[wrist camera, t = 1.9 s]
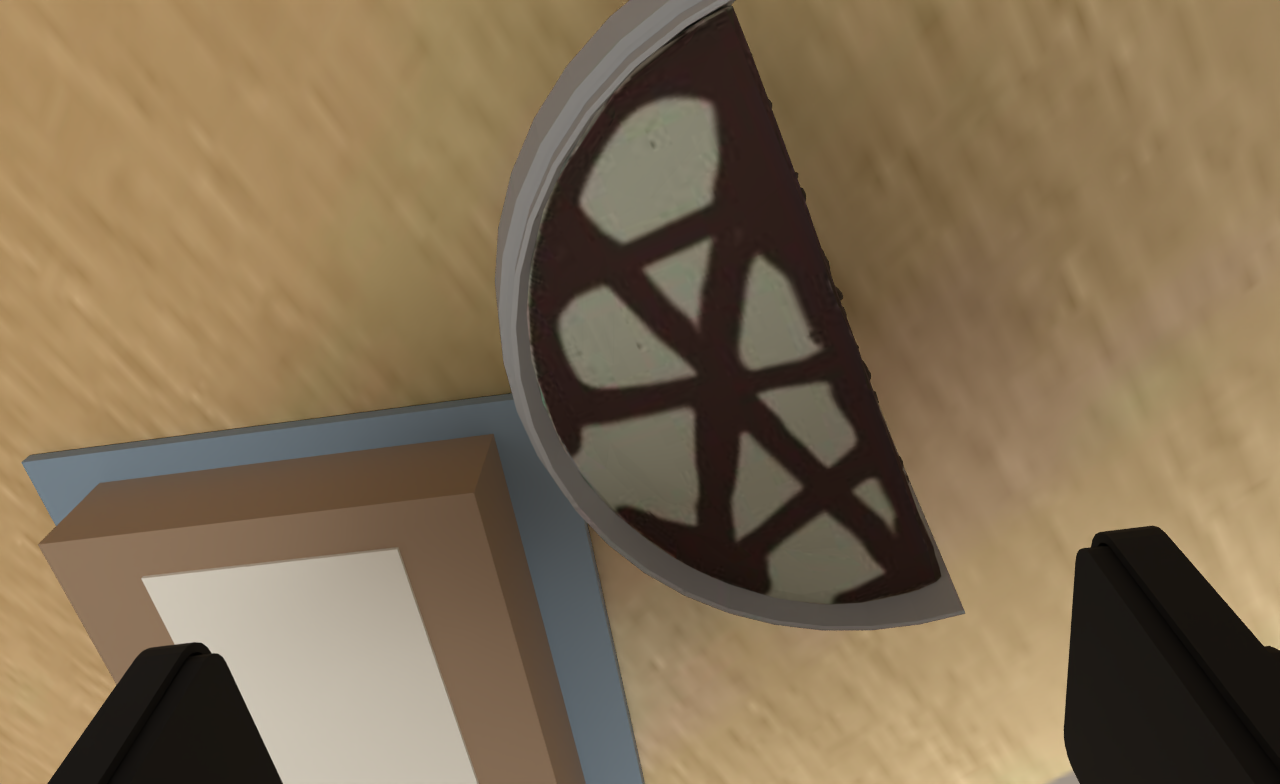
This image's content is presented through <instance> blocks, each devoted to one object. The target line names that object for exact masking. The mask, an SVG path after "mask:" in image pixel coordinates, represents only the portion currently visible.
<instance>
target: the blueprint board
mask: <svg viewBox="0 0 1280 784" xmlns="http://www.w3.org/2000/svg"><path fill="white" fill-rule="evenodd" d="M21 463H22V464H23V466H24V468H25V470H26V472H27V474H28V476H29V477H30V479H31V481H32V483H33V485H34V487H35V488H36V490H37V492H38V494H39V496H40V498H41V499H42V501H43V503H44V505H45V507H46V509H47V510H48V512H49V514H50V516H51V518H52V520H53V521H54V523H55V525H56V527H55V528H54V529H53V530H52V531H51V532H50V533H49V534H48V535H47V536H46V537H45V538H44V539H43V540H42V541H41V542H40V543H39V544H38V546H39V547H40V549H41V551H42V553H43V555H44V556H45V558H46V560H47V562H48V563H49V565H50V567H51V569H52V571H53V572H54V574H55V576H56V578H57V579H58V581H59V583H60V585H61V587H62V588H63V590H64V592H65V594H66V595H67V597H68V599H69V601H70V603H71V604H72V606H73V608H74V610H75V612H76V613H77V615H78V617H79V619H80V620H81V622H82V624H83V626H84V628H85V629H86V631H87V633H88V635H89V636H90V638H91V640H92V642H93V644H94V645H95V647H96V649H97V651H98V652H99V654H100V656H101V658H102V660H103V661H104V663H105V665H106V667H107V669H108V670H109V672H110V674H111V676H112V677H113V679H114V681H115V683H116V685H117V684H118V682H119V681H120V680H121V678H122V677H123V675H124V674H125V673H126V671H127V670H128V668H129V667H130V665H131V664H132V663H133V661H134V660H135V658H136V657H137V656H138V655H139V654H140V653H141V652H142V651H143V650H146V649H148V648H151V647H159V646H167V645H175V644H184V643H192V642H199V643H203V644H204V645H205V646H207V647H208V648H209V650H210V651H211V653H217V654H219V655H221V656H222V657H223V658H224V660H225V661H226V663H227V665H228V667H229V669H230V671H231V674H232V676H233V678H234V680H235V682H236V684H237V686H238V688H239V691H240V693H241V695H242V697H243V699H244V701H245V703H246V706H247V708H248V710H249V712H250V714H251V716H252V718H253V721H254V723H255V725H256V727H257V729H258V731H259V733H260V735H261V738H262V740H263V742H264V744H265V746H266V748H267V750H268V753H269V755H270V757H271V759H272V761H273V763H274V765H275V767H276V770H277V772H278V774H279V776H280V778H281V780H282V782H283V784H645V782H644V778H643V773H642V769H641V764H640V760H639V755H638V751H637V746H636V742H635V737H634V733H633V728H632V724H631V719H630V715H629V710H628V706H627V701H626V697H625V692H624V688H623V683H622V678H621V674H620V669H619V665H618V660H617V656H616V651H615V647H614V642H613V638H612V633H611V629H610V624H609V620H608V615H607V611H606V606H605V602H604V597H603V593H602V588H601V584H600V579H599V575H598V570H597V566H596V561H595V557H594V552H593V548H592V543H591V538H590V534H589V529H588V525H587V522H586V521H585V520H584V519H583V518H582V517H581V516H580V515H579V514H578V512H577V511H576V510H575V509H574V507H573V506H572V504H571V503H570V502H569V500H568V499H567V498H566V497H565V495H564V494H563V493H562V491H561V490H560V488H559V487H558V485H557V484H556V482H555V481H554V479H553V478H552V476H551V475H550V473H549V472H548V470H547V469H546V468H545V466H544V465H543V463H542V462H541V460H540V459H539V457H538V456H537V454H536V451H535V449H534V447H533V445H532V443H531V441H530V438H529V436H528V434H527V432H526V430H525V428H524V426H523V423H522V421H521V419H520V417H519V415H518V413H517V410H516V406H515V402H514V399H513V395H512V393H510V394H503V395H495V396H487V397H479V398H472V399H464V400H456V401H448V402H440V403H433V404H425V405H417V406H409V407H402V408H394V409H386V410H378V411H371V412H363V413H355V414H347V415H339V416H332V417H324V418H316V419H308V420H301V421H293V422H285V423H277V424H269V425H262V426H254V427H246V428H238V429H231V430H223V431H215V432H207V433H199V434H192V435H184V436H176V437H168V438H161V439H153V440H145V441H137V442H130V443H122V444H114V445H106V446H98V447H91V448H83V449H75V450H67V451H60V452H52V453H44V454H36V455H30V456H28V457H27V458H26V459H25V460H24V461H23V462H21Z"/></svg>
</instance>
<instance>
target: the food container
mask: <svg viewBox="0 0 1280 784" xmlns="http://www.w3.org/2000/svg"><path fill="white" fill-rule="evenodd" d="M734 1H735V0H629V1H628V2H627V3H626V4H625V5H623V6H622V7H621V8H620V9H619V10H617V11H616V12H615V13H614V14H613V15H611V16H610V17H609V18H608V19H607V21H606V22H605V23H604V24H603V25H602V26H601V27H600V29H599V30H598V31H597V32H596V33H595V34H594V35H593V37H592V38H591V39H590V40H589V41H588V42H587V43H586V45H585V46H584V47H583V48H582V49H581V50H580V51H579V53H578V54H577V55H576V56H575V57H574V58H573V59H572V61H571V62H570V63H569V64H568V65H567V67H566V68H565V70H564V71H563V73H562V75H561V76H560V78H559V79H558V81H557V83H556V84H555V86H554V87H553V89H552V91H551V92H550V94H549V95H548V97H547V99H546V100H545V102H544V103H543V105H542V107H541V108H540V110H539V111H538V113H537V115H536V116H535V118H534V120H533V122H532V125H531V127H530V129H529V132H528V134H527V137H526V139H525V141H524V144H523V146H522V149H521V151H520V153H519V156H518V158H517V161H516V163H515V165H514V168H513V170H512V173H511V177H510V181H509V185H508V189H507V193H506V198H505V202H504V206H503V210H502V215H501V219H500V223H499V227H498V242H497V257H496V272H495V288H496V298H497V307H498V317H499V327H500V336H501V344H502V353H503V361H504V366H505V369H506V373H507V377H508V380H509V384H510V388H511V391H512V395H513V399H514V402H515V406H516V410H517V413H518V415H519V417H520V419H521V421H522V423H523V426H524V428H525V430H526V432H527V434H528V436H529V438H530V441H531V443H532V445H533V447H534V449H535V451H536V454H537V456H538V457H539V459H540V460H541V462H542V463H543V465H544V466H545V468H546V469H547V470H548V472H549V473H550V475H551V476H552V478H553V479H554V481H555V482H556V484H557V485H558V487H559V488H560V490H561V491H562V493H563V494H564V495H565V497H566V498H567V499H568V500H569V502H570V503H571V504H572V506H573V507H574V509H575V510H576V511H577V512H578V514H579V515H580V516H581V517H582V518H583V519H584V520H585V521H586V522H587V523H588V524H589V525H590V526H591V527H592V528H593V529H594V530H595V531H596V533H597V534H598V535H599V536H600V537H601V538H602V539H603V540H604V541H605V542H606V543H607V544H608V545H609V546H610V547H612V548H613V549H614V550H616V551H617V552H618V553H620V554H621V555H622V556H623V557H625V558H626V559H627V560H629V561H630V562H631V563H632V564H634V565H635V566H636V567H638V568H639V569H640V570H641V571H643V572H644V573H646V574H647V575H649V576H651V577H653V578H654V579H656V580H658V581H660V582H662V583H663V584H665V585H667V586H669V587H670V588H672V589H674V590H676V591H677V592H679V593H681V594H683V595H684V596H687V597H689V598H692V599H694V600H697V601H699V602H702V603H704V604H707V605H709V606H712V607H715V608H717V609H720V610H722V611H725V612H727V613H730V614H734V615H738V616H742V617H746V618H750V619H754V620H758V621H762V622H766V623H770V624H774V625H782V626H790V627H799V628H807V629H815V630H877V629H885V628H893V627H902V626H910V625H918V624H923V623H928V622H932V621H936V620H940V619H945V618H949V617H953V616H957V615H961V614H965V611H964V609H963V606H962V604H961V602H960V599H959V597H958V594H957V592H956V590H955V587H954V585H953V583H952V580H951V578H950V575H949V573H948V571H947V568H946V566H945V564H944V561H943V559H942V556H941V554H940V552H939V549H938V547H937V545H936V542H935V540H934V538H933V535H932V533H931V530H930V528H929V526H928V523H927V521H926V519H925V516H924V514H923V511H922V509H921V507H920V504H919V502H918V500H917V497H916V495H915V492H914V490H913V488H912V485H911V483H910V481H909V478H908V476H907V473H906V471H905V469H904V466H903V461H902V459H901V457H900V456H899V455H898V452H897V450H896V447H895V445H894V443H893V440H892V438H891V435H890V432H889V429H888V427H887V424H886V421H885V419H884V417H883V414H882V412H881V409H880V407H879V404H878V402H879V401H878V398H877V395H876V392H875V391H873V389H872V386H871V383H870V379H871V373H870V372H869V370H868V368H867V366H866V364H865V363H864V362H863V360H862V358H861V356H860V353H859V350H858V348H859V347H858V345H857V344H856V342H855V339H854V336H853V334H852V331H851V328H850V326H849V323H848V320H847V317H846V312H845V309H844V307H843V306H842V304H841V301H840V300H841V299H843V294H842V292H841V291H840V290H839V289H838V288H837V287H835V285H834V282H833V280H832V277H831V273H830V266H829V261H828V260H827V258H826V256H825V254H824V252H823V250H822V249H821V246H820V243H819V240H818V237H817V234H816V231H815V228H814V226H813V223H812V220H811V217H810V214H809V211H808V208H807V205H806V202H805V201H806V194H805V191H804V190H803V188H800V185H799V182H798V180H797V178H798V173H797V172H795V171H794V169H793V166H792V163H791V160H790V158H789V155H788V152H787V150H786V147H785V144H784V141H783V139H782V136H781V133H780V130H779V128H778V125H777V122H776V119H775V117H774V114H773V111H772V103H771V101H770V100H769V99H768V98H767V95H766V92H765V89H764V87H763V84H762V81H761V79H760V76H759V73H758V71H757V68H756V65H755V62H754V60H753V57H752V54H751V52H750V49H749V47H748V44H747V42H746V39H745V37H744V34H743V31H742V29H741V26H740V24H739V21H738V19H737V16H736V14H735V11H734V9H733V6H731V5H732V4H733V2H734Z"/></svg>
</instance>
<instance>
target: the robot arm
mask: <svg viewBox="0 0 1280 784" xmlns="http://www.w3.org/2000/svg"><path fill="white" fill-rule="evenodd" d="M1064 741H1065V747H1066V751H1067V755H1068V758H1069V761H1070V764H1071V766H1072V769H1073V771H1074V773H1075V775H1076V777H1077V779H1078V781H1079V783H1080V784H1280V650H1278V649H1275V648H1273V647H1271V646H1263V645H1262V644H1261V643H1260V641H1259V640H1258V639H1257V638H1256V637H1255V636H1254V634H1253V633H1252V632H1251V631H1250V630H1249V629H1248V628H1247V626H1246V625H1245V624H1244V623H1243V622H1242V621H1241V619H1240V618H1239V617H1238V616H1237V615H1236V614H1235V613H1234V611H1233V610H1232V609H1231V608H1230V607H1229V606H1228V604H1227V603H1226V602H1225V601H1224V600H1223V599H1222V598H1221V596H1220V595H1219V594H1218V593H1217V592H1216V591H1215V589H1214V588H1213V587H1212V586H1211V585H1210V584H1209V583H1208V581H1207V580H1206V579H1205V578H1204V577H1203V576H1202V575H1201V573H1200V572H1199V571H1198V570H1197V569H1196V568H1195V566H1194V565H1193V564H1192V563H1191V562H1190V561H1189V560H1188V558H1187V557H1186V556H1185V555H1184V554H1183V553H1182V551H1181V550H1180V549H1179V548H1178V547H1177V546H1176V545H1175V543H1174V542H1173V541H1172V540H1171V539H1170V538H1169V536H1168V535H1167V534H1166V533H1165V532H1164V531H1162V530H1161V529H1160V528H1159V527H1155V526H1147V527H1138V528H1130V529H1122V530H1114V531H1105V532H1099V533H1097V534H1096V535H1095V536H1094V538H1093V540H1092V545H1091V548H1083V549H1080V550H1079V551H1078V553H1077V556H1076V563H1075V577H1074V591H1073V606H1072V620H1071V635H1070V649H1069V663H1068V678H1067V692H1066V706H1065V721H1064ZM48 784H283V782H282V780H281V778H280V776H279V774H278V772H277V770H276V767H275V765H274V763H273V761H272V759H271V757H270V755H269V753H268V750H267V748H266V746H265V744H264V742H263V740H262V738H261V735H260V733H259V731H258V729H257V727H256V725H255V723H254V721H253V718H252V716H251V714H250V712H249V710H248V708H247V706H246V703H245V701H244V699H243V697H242V695H241V693H240V691H239V688H238V686H237V684H236V682H235V680H234V678H233V676H232V674H231V671H230V669H229V667H228V665H227V663H226V661H225V660H224V658H223V657H222V656H221V655H219V654H217V653H211V651H210V650H209V648H208V647H207V646H205V645H204V644H203V643H199V642H192V643H184V644H175V645H167V646H159V647H151V648H148V649H146V650H143V651H142V652H141V653H140V654H139V655H138V656H137V657H136V658H135V660H134V661H133V663H132V664H131V665H130V667H129V668H128V670H127V671H126V673H125V674H124V675H123V677H122V678H121V680H120V681H119V682H118V684H117V685H116V687H115V688H114V690H113V691H112V692H111V694H110V695H109V697H108V698H107V700H106V701H105V702H104V704H103V705H102V707H101V708H100V710H99V711H98V712H97V714H96V715H95V717H94V718H93V720H92V721H91V722H90V724H89V725H88V727H87V728H86V730H85V731H84V732H83V734H82V735H81V737H80V738H79V740H78V741H77V742H76V744H75V745H74V747H73V748H72V749H71V751H70V752H69V754H68V755H67V757H66V758H65V759H64V761H63V762H62V764H61V765H60V767H59V768H58V769H57V771H56V772H55V774H54V775H53V777H52V778H51V779H50V781H49V782H48Z"/></svg>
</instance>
